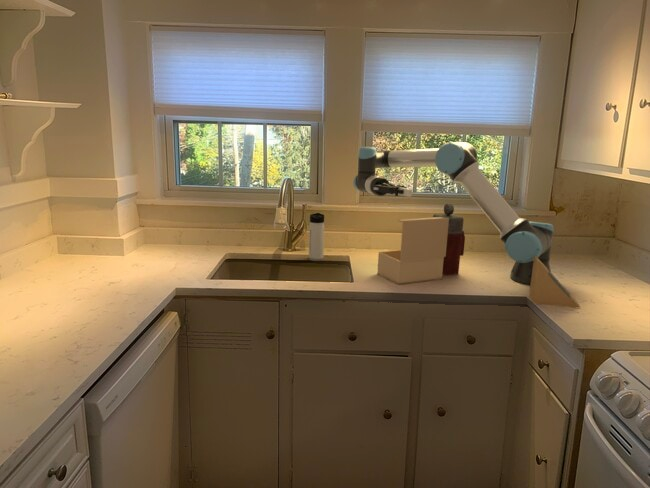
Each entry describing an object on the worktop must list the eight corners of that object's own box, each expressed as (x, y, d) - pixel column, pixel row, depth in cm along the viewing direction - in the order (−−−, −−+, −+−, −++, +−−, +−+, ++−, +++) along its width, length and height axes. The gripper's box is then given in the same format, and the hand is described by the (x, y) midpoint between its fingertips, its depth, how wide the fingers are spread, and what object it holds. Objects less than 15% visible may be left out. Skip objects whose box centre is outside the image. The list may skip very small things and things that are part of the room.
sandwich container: (582, 308, 164) (588, 265, 161) (532, 303, 168) (538, 261, 164) (575, 300, 173) (581, 258, 169) (528, 295, 176) (534, 255, 172)
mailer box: (377, 274, 196) (378, 252, 194) (418, 269, 205) (420, 248, 203) (398, 284, 183) (400, 261, 181) (441, 279, 192) (443, 256, 190)
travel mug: (323, 257, 218) (325, 213, 214) (322, 261, 212) (323, 215, 208) (309, 257, 219) (310, 212, 214) (307, 260, 213) (308, 215, 208)
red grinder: (463, 274, 200) (470, 205, 194) (438, 275, 197) (444, 205, 190) (452, 268, 208) (458, 202, 202) (428, 269, 205) (433, 202, 199)
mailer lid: (397, 218, 181) (403, 220, 177) (441, 216, 189) (449, 217, 186) (394, 258, 184) (401, 261, 180) (438, 254, 193) (445, 256, 189)
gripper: (390, 194, 211) (423, 202, 190) (363, 195, 206) (395, 203, 185) (391, 176, 209) (425, 182, 189) (364, 177, 204) (396, 183, 183)
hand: (410, 193), depth 187 cm, fingers closed
